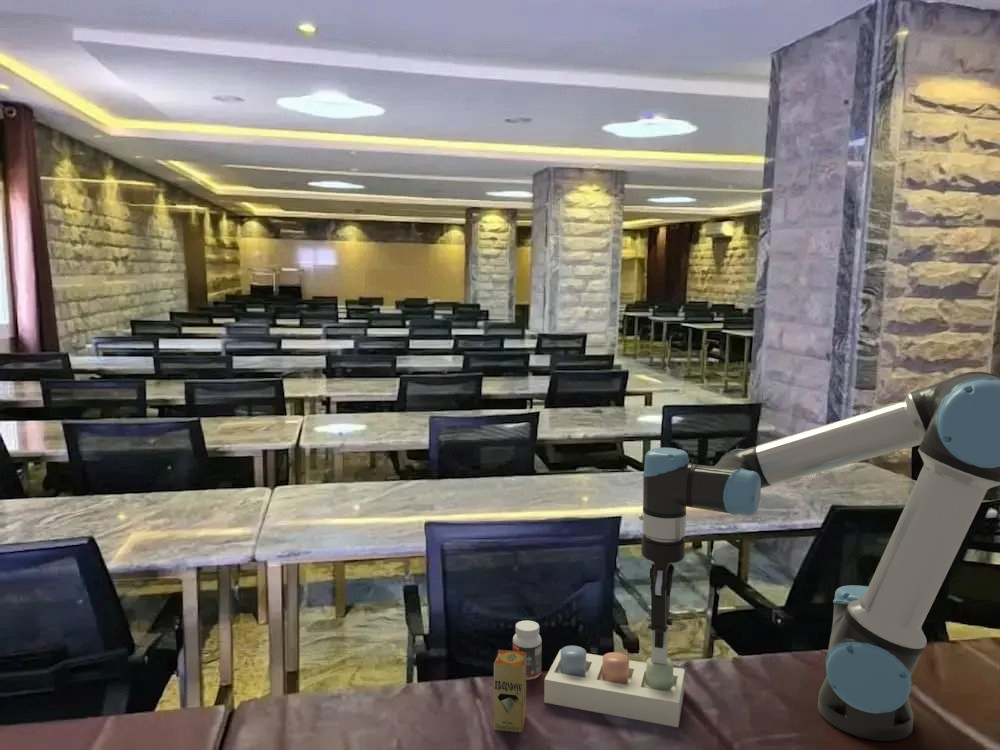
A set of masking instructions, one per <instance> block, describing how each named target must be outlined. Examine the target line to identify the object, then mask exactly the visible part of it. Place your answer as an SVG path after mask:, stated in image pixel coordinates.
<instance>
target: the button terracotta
mask: <svg viewBox="0 0 1000 750" xmlns="http://www.w3.org/2000/svg"><path fill="white" fill-rule="evenodd" d="M602 656H603V673H602V679H603V681H608V682H614V683H620V684H627V683H628V681H629V660H630V658H629V656H628V655H626V654H625V653H622V652H616V651H615V652H614V651H613V652H607V653H604V654H603V655H602Z"/></svg>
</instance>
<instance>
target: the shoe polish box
mask: <svg viewBox="0 0 1000 750" xmlns="http://www.w3.org/2000/svg"><path fill="white" fill-rule="evenodd" d="M526 718H527V680H526V652H520V651H513V650H508V649H507V650H505V649H497V654H496V656H495V660H494V662H493V731H494V730H495V731H503V732H505V731H506V732H514V733H523V731H524V727H525V721H526Z"/></svg>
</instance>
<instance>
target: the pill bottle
mask: <svg viewBox="0 0 1000 750" xmlns="http://www.w3.org/2000/svg"><path fill="white" fill-rule="evenodd" d="M542 641H543V640H542V637H541V635H540V625H539V623H538V622H536V621H533V620H521V621H518V622H516V623H515V634H514V635H513V637H512V651H520V652H526V681H527V680H528V681H530V680H534V679H537V678H538V677H540V675H541V674H542V652H543V651H542V650H543V649H542V647H543V646H542Z"/></svg>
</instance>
